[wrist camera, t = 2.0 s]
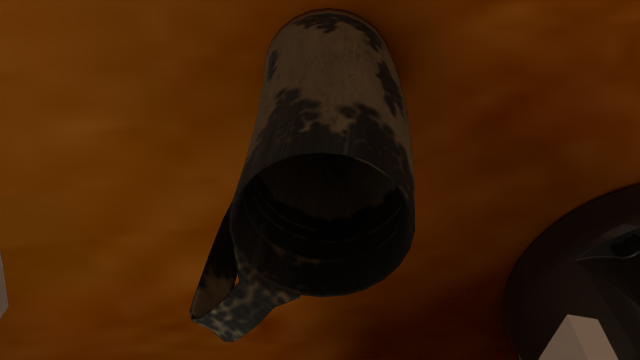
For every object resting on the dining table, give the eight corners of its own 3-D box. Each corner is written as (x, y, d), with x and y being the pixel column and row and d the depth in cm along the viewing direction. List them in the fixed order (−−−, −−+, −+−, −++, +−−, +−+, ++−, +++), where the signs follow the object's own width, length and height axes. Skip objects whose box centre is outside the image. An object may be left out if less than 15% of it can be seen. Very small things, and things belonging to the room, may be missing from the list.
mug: (331, -25, 22) (325, 108, 12) (422, 69, 24) (482, 251, 14) (206, 105, 25) (118, 295, 15) (295, 178, 27) (270, 390, 17)
